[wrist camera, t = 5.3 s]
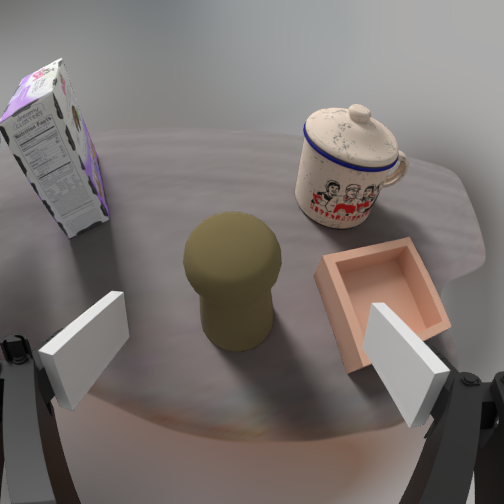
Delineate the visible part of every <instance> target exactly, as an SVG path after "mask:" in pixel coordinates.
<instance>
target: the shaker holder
mask: <svg viewBox="0 0 504 504" xmlns="http://www.w3.org/2000/svg"><path fill="white" fill-rule="evenodd" d="M314 278H315V281H316V284H317V286H318V289H319V292H320V295H321V297H322V300H323V303H324V306H325V309H326V312H327V315H328V317H329V320H330V323H331V326H332V329H333V332H334V335H335V338H336V341H337V344H338V347H339V350H340V353H341V356H342V359H343V363H344V366H345V369H346V372H347V374H348V373H351V372H354V371H357V370H359V369H362V368H365V367H367V366H370V365H372V363H371V361H370V360H369V358H368V356H367V355H366V353H365V351H364V350H363V348H362V346H363V341H364V337H365V332H366V328H367V323H368V318H369V313H370V308H371V303H385V304H386V305H387V306H388V307H389V308H390V309H391V310H392V311H393V312H394V313H395V314H396V315H397V316H398V317H399V318H400V319H401V320H402V321H403V322H404V323H405V324H406V325H407V326H408V327H409V328H410V329H411V330H412V331H413V332H414V333H415V334H416V335H417V336H418V337H419V338H420V339H421V340H422V341H423V342H425V341H427V340H429V339H431V338H433V337H434V336H436V335H438V334H440V333H441V332H443V331H445V330H447V329H448V328H450V327H451V324H450V322H449V319H448V317H447V314H446V312H445V309H444V307H443V305H442V302H441V300H440V298H439V295H438V293H437V291H436V289H435V287H434V284H433V282H432V280H431V278H430V276H429V274H428V272H427V270H426V268H425V266H424V264H423V262H422V260H421V258H420V256H419V254H418V252H417V250H416V248H415V246H414V244H413V243H412V241H411V239H410V237H406V238H402V239H398V240H393V241H389V242H384V243H379V244H375V245H370V246H366V247H361V248H357V249H352V250H347V251H343V252H338V253H333V254H328V255H324V256H322V258H321V261H320V263H319V265H318V268H317V270H316V272H315V274H314Z"/></svg>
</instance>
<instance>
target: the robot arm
mask: <svg viewBox="0 0 504 504" xmlns="http://www.w3.org/2000/svg"><path fill="white" fill-rule="evenodd" d="M0 140H1V139H0ZM0 142H1V141H0ZM129 337H130V335H129V329H128V322H127V315H126V308H125V299H124V292H118V291H111V292H110V293H108V294H107V295H106V296H104V297H103V298H102V299H101V300H99V301H98V302H97V303H95V304H94V305H93V306H92V307H90V308H89V309H88V310H87V311H85V312H84V313H83V314H82V315H80V316H79V317H78V318H77V319H76V320H74V321H73V322H72V323H71V324H69V325H68V326H67V327H65V328H62V329H60V330H58V331H57V332H55V333H54V334H53V335H52V336H51V337H49V338H48V339H47V340H46V341H44V342H43V343H42V344H41V345H40V346H38V347H37V348H36V349H35V350H34V351H33V352H31V348H30V345H29V342H28V339H27V336H26V335H24V334H20V333H17V334H11V335H8V336H6V337H5V338H3V339H2V340H1V342H0V345H1V348H2V351H3V353H4V356H5V359H6V360H0V497H1V484H2V475H3V468H4V461H5V468H6V476H7V482H8V489H9V494H10V500H11V504H81V503H80V500H79V498H78V495H77V492H76V490H75V487H74V484H73V481H72V479H71V475H70V473H69V469H68V466H67V463H66V459H65V456H64V452H63V449H62V445H61V441H60V437H59V433H58V428H57V424H56V419H55V414H54V409H53V405H52V403H51V399H52V398H53V397H54V396H55V397H56V399H57V402H58V404H59V406H61V407H64V408H66V409H69V410H72V411H74V410H75V408H76V407H77V406H78V404H79V403H80V401H81V400H82V399H83V397H84V396H85V395H86V393H87V392H88V391H89V389H90V388H91V387H92V385H93V384H94V383H95V381H96V380H97V379H98V377H99V376H100V375H101V373H102V372H103V371H104V369H105V368H106V367H107V366H108V364H109V363H110V362H111V360H112V359H113V358H114V356H115V355H116V354H117V353H118V351H119V350H120V349H121V347H122V346H123V345H124V344H125V342H126V341H127V340H128V339H129ZM362 348H363V350H364V351H365V353H366V355H367V356H368V358H369V360H370V361H371V363H372V365H373V366H374V368H375V370H376V371H377V373H378V375H379V376H380V378H381V380H382V381H383V383H384V385H385V386H386V388H387V390H388V392H389V393H390V395H391V397H392V399H393V400H394V402H395V404H396V405H397V407H398V409H399V411H400V412H401V414H402V416H403V418H404V420H405V421H406V423H407V425H408V427H409V428H413V427H417V426H421V425H424V424H425V423H426V421H427V419H428V417H429V415H430V414H431V415H432V417H433V418H434V421H433V423H432V425H431V426H430V428H429V430H428V432H427V433H426V435H425V437H424V438H427V439H426V442H425V444H424V447H423V450H422V453H421V455H420V458H419V461H418V463H417V465H416V468H415V470H414V473H413V475H412V477H411V480H410V482H409V484H408V486H407V488H406V490H405V492H404V495H403V496H402V498H401V501H400V502H399V504H466V500H467V497H468V493H469V489H470V485H471V480H472V476H473V471H474V479H475V504H504V372H498V373H497V374H496V375H495V377H494V379H493V381H492V382H488V383H487V382H486V383H482V382H481V380H480V378H479V377H477V376H476V375H474V374H472V373H468V372H461V373H459V372H458V371H457V370H456V369H455V368H454V367H453V365H452V364H451V363H450V362H449V361H448V360H447V359H445V357H444V356H443V355H442V354H440V352H439V351H438V350H437V349H436V348H435V347H433V346H432V345H430V344H428V343H426V342H425V343H424V342H423V341H422V340H421V339H420V338H419V337H418V336H417V335H416V334H415V333H414V332H413V331H412V330H411V329H410V328H409V327H408V326H407V325H406V324H405V323H404V322H403V321H402V320H401V319H400V318H399V317H398V316H397V315H396V314H395V313H394V312H393V311H392V310H391V309H390V308H389V307H388V306H387V305H386V304H385V303H371V308H370V313H369V318H368V323H367V328H366V332H365V337H364V341H363V346H362ZM498 420H499V422H498V424H497V421H498Z"/></svg>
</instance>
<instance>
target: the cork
mask: <svg viewBox="0 0 504 504" xmlns="http://www.w3.org/2000/svg"><path fill="white" fill-rule="evenodd" d="M183 263H184V268H185V272H186V276H187V278H188V281H189V282H190V284H191V285H192V287H193V288H194V290H195V291H196V292H197V293H198V294H199V295H200V315H201V323H202V327H203V330H204V332H205V334H206V335H207V337H208V338H209V340H210V341H211V342H213V343H214V344H215V345H217V346H218V347H220V348H223V349H225V350H228V351H246V350H249V349H252V348H255V347H256V346H258V345H259V344H261V343H262V342H263V341H264V340H265V339H266V337H267V336H268V335H269V333H270V332H271V329H272V326H273V322H274V314H273V304H272V296H271V288H272V287H273V285H274V284H275V283H276V281H277V277H278V274H279V271H280V268H281V264H282V262H281V249H280V245H279V243H278V241H277V238H276V236H275V234H274V232H273V231H272V230H271V229H270V228H269V227H268V226H267V225H266V224H265V223H264V222H263V221H261V220H259V219H258V218H256V217H254V216H252V215H249V214H246V213H242V212H224V213H220V214H216V215H213V216H211V217H209V218H208V219H206V220H204V221H203V222H202V223H201V224H200V225H198V226H197V227H196V228H195V229H194V231H193V232H192V233H191V235H190V237H189V239H188V240H187V242H186V245H185V252H184V260H183Z"/></svg>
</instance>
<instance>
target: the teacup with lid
mask: <svg viewBox="0 0 504 504" xmlns="http://www.w3.org/2000/svg"><path fill="white" fill-rule="evenodd" d="M303 131H304V136H305V138H304V144H303V150H302V156H301V161H300V167H299V172H298V178H297V183H296V189H295V195H296V199H297V202H298V204H299V206H300V208H301V209H302V210H303V211H304V213H305V214H306V215H308V216H309V217H310V218H311V219H313V220H314V221H316V222H318V223H320V224H322V225H325V226H328V227H332V228H339V229H345V228H351V227H355V226H357V225H359V224H361V223H362V222H363V221H364V220H365V219H366V218H367V217H368V215H369V213H370V211H371V209H372V207H373V205H374V203H375V201H376V199H377V197H378V195H379V193H380V191H381V189H382V188H385V187H389V186H392V185H394V184H396V183H397V182H398V181H400V180H401V179H402V178H403V177H404V175H405V174H406V173H407V171H408V168H409V161H408V159H407V157H406V156H405V154H404V153H402V152H401V151H399V149H398V144H397V141H396V139H395V137H394V136H393V135H392V133H391V132H390V131H389V130H388V129H387V128H386V127H385V126H383V125H382V124H381V123H380V122H378V121H377V120H375V119H373V118H371V112H370V110H369V109H367V108H366V107H364V106H362V105H358V104H354V105H352V106H350V107H349V109H343V108H326V109H322V110H319V111H316V112H315V113H313V114H312V115H311V116H310V117H309V118H308V119H307V121H306V122H305V124H304V129H303ZM397 160H400V161H401V162H400V165H399V166H398V168H397V169H396V170H395V171H394V172H393V173H392V174H390V175H389V176H388V174H389V172H390V169H391V168H392V167H393V166H394V165H395V164H396V162H397Z"/></svg>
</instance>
